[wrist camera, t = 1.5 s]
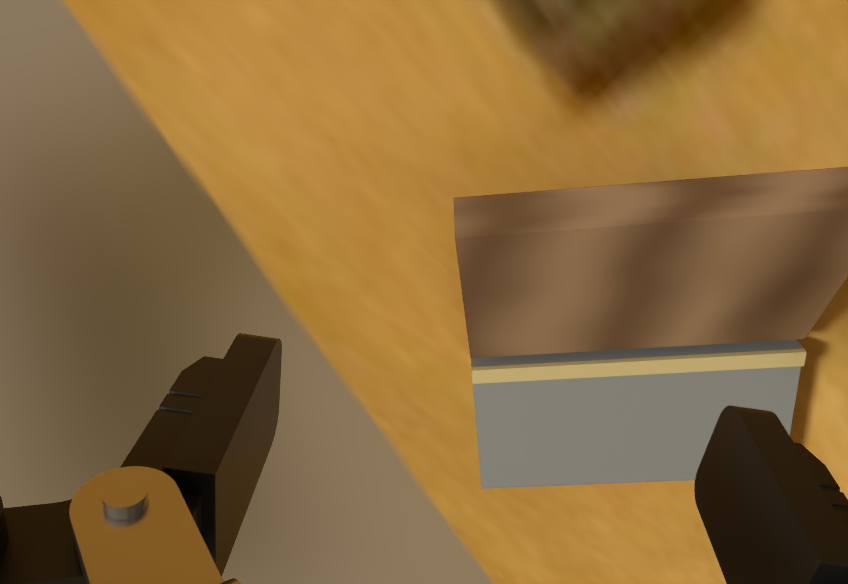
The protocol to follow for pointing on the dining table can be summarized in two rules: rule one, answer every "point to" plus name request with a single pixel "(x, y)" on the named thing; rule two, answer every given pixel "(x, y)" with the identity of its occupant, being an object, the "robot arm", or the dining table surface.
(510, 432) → the board
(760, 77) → the dining table surface
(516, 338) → the walnut plank
